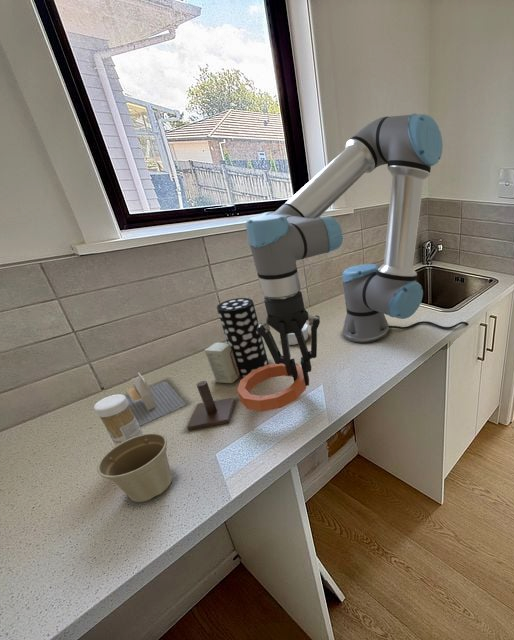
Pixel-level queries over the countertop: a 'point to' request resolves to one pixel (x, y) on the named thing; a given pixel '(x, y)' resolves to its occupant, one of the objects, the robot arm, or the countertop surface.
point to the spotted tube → (243, 334)
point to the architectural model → (151, 400)
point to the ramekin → (292, 337)
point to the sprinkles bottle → (118, 418)
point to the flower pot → (138, 466)
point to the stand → (210, 409)
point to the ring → (273, 399)
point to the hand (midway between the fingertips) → (302, 383)
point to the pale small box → (222, 362)
